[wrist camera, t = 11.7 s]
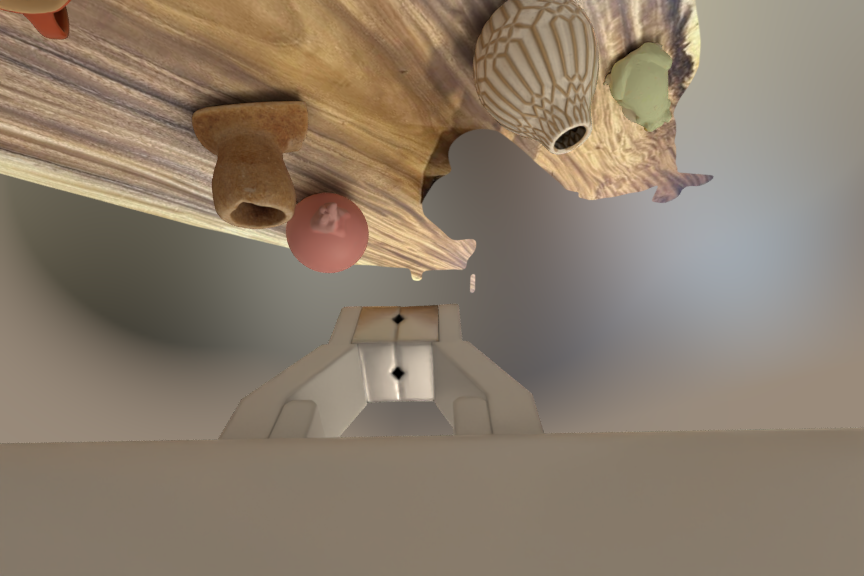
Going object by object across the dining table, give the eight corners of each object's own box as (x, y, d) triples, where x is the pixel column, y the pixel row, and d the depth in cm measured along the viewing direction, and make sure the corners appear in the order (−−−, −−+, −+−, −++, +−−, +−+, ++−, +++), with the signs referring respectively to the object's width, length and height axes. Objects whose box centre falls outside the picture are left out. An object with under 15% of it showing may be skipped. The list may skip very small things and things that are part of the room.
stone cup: (211, 160, 59) (222, 244, 55) (180, 96, 48) (191, 194, 44) (311, 150, 64) (329, 227, 59) (303, 90, 53) (325, 178, 48)
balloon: (369, 157, 69) (390, 230, 64) (352, 219, 86) (368, 280, 81) (278, 158, 63) (295, 238, 58) (280, 224, 80) (293, 290, 75)
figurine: (612, 115, 79) (634, 153, 76) (597, 68, 65) (623, 112, 62) (664, 83, 74) (690, 122, 71) (660, 25, 61) (691, 70, 58)
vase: (436, 48, 53) (485, 163, 46) (531, -68, 43) (608, 59, 37) (501, 93, 64) (547, 191, 58) (587, 10, 54) (654, 117, 48)
